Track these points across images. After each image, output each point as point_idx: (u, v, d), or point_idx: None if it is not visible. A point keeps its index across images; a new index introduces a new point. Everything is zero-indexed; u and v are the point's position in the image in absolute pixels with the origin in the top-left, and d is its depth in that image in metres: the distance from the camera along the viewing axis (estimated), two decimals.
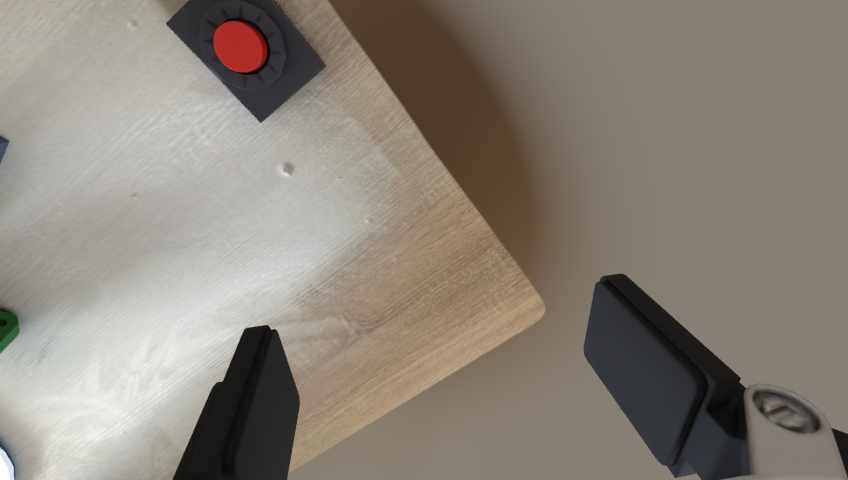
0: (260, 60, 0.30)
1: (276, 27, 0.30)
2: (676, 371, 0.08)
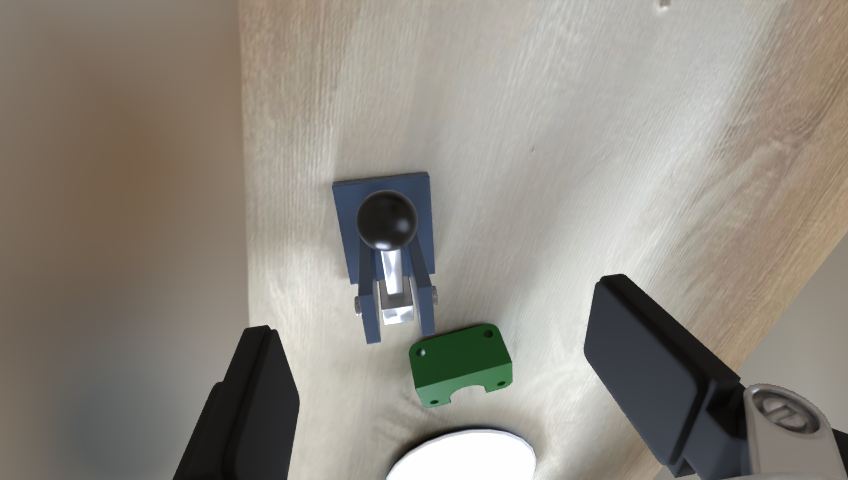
0: None
1: None
2: (676, 371, 0.08)
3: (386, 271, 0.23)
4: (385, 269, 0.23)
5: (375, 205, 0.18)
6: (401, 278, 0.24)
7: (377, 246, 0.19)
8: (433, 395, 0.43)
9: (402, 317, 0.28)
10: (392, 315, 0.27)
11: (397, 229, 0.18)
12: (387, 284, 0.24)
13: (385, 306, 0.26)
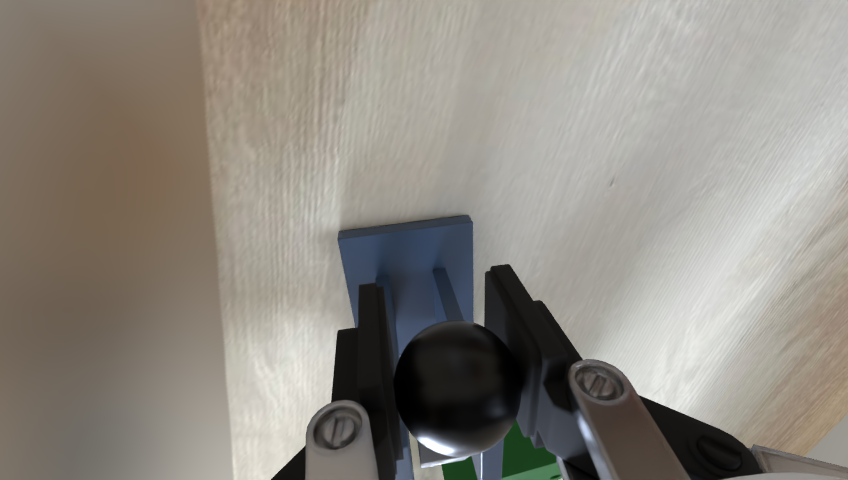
0: None
1: None
2: (523, 350, 0.09)
3: None
4: None
5: (440, 377, 0.08)
6: None
7: (442, 454, 0.09)
8: None
9: (450, 461, 0.18)
10: (436, 463, 0.17)
11: (490, 429, 0.08)
12: None
13: (426, 456, 0.16)
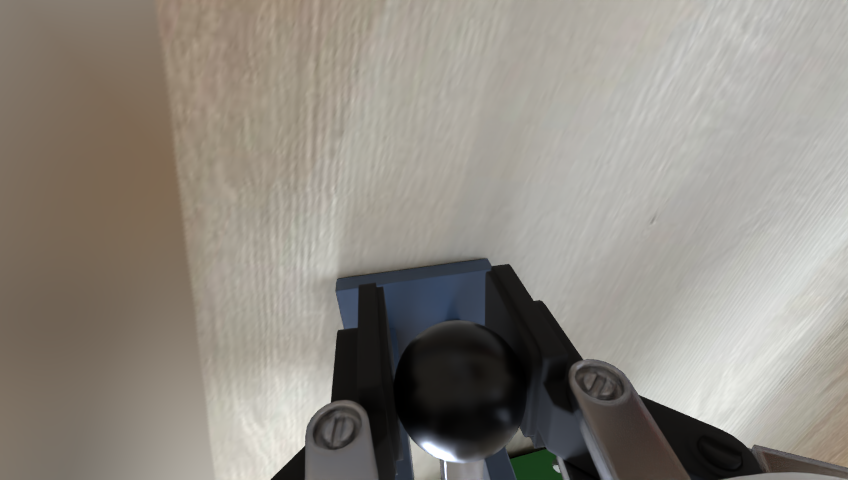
0: None
1: None
2: (524, 349, 0.09)
3: None
4: None
5: (437, 350, 0.08)
6: None
7: (444, 451, 0.08)
8: None
9: None
10: None
11: (492, 405, 0.08)
12: None
13: None
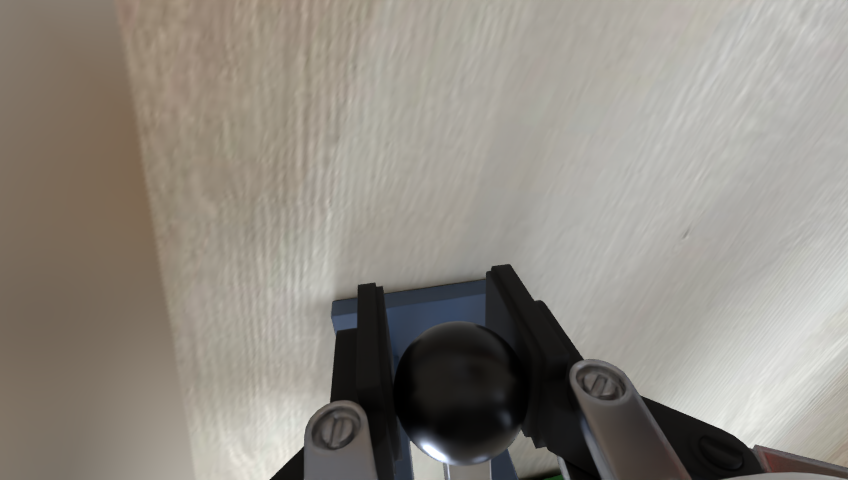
0: None
1: None
2: (525, 349, 0.09)
3: None
4: None
5: (435, 339, 0.08)
6: None
7: (445, 442, 0.08)
8: None
9: None
10: None
11: (490, 389, 0.08)
12: None
13: None
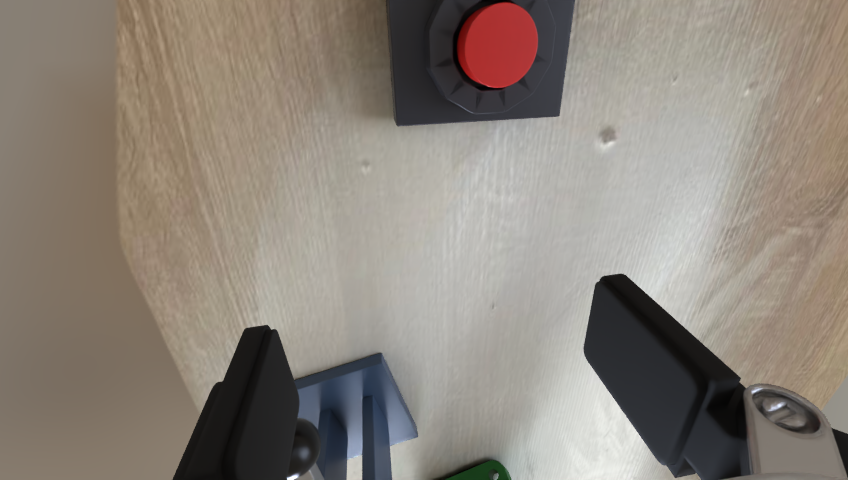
0: (535, 30, 0.18)
1: None
2: (676, 371, 0.08)
3: None
4: None
5: None
6: None
7: None
8: None
9: None
10: None
11: None
12: None
13: None
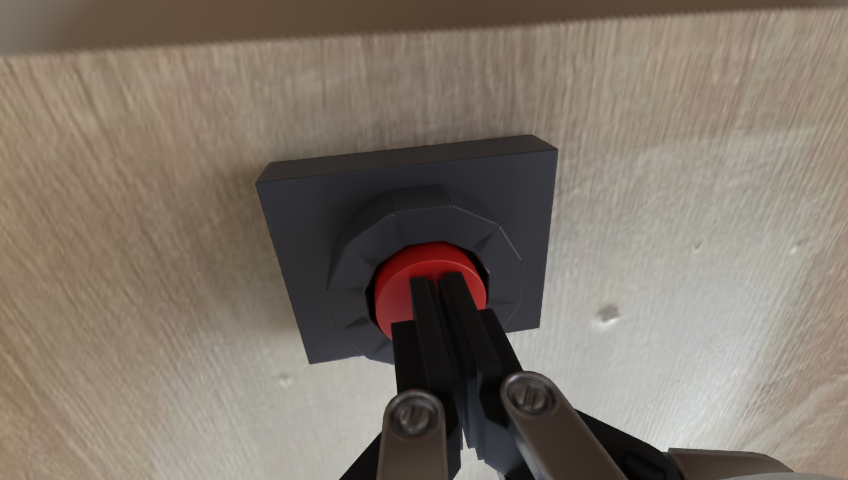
0: (481, 283, 0.12)
1: (440, 207, 0.11)
2: (462, 360, 0.09)
3: None
4: None
5: None
6: None
7: None
8: None
9: None
10: None
11: None
12: None
13: None
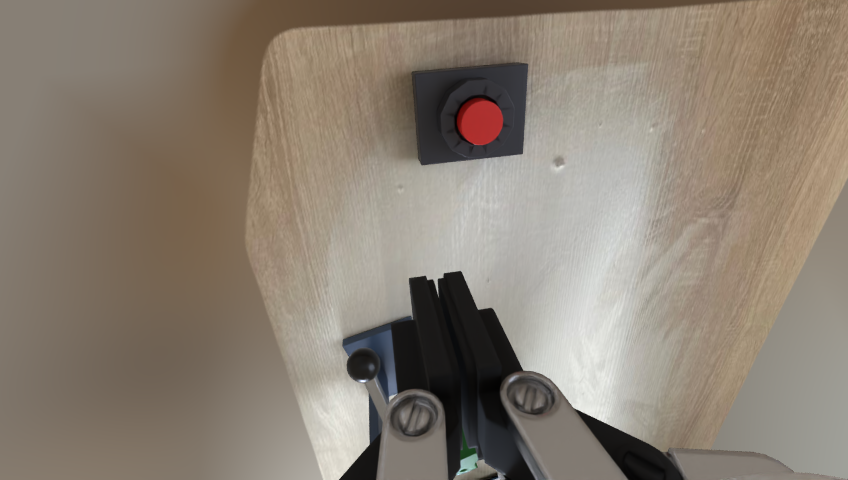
0: (501, 113, 0.31)
1: (484, 80, 0.31)
2: (462, 360, 0.09)
3: (376, 406, 0.37)
4: (375, 403, 0.37)
5: (352, 354, 0.35)
6: None
7: (356, 376, 0.35)
8: None
9: None
10: None
11: (363, 363, 0.35)
12: (382, 419, 0.37)
13: None
